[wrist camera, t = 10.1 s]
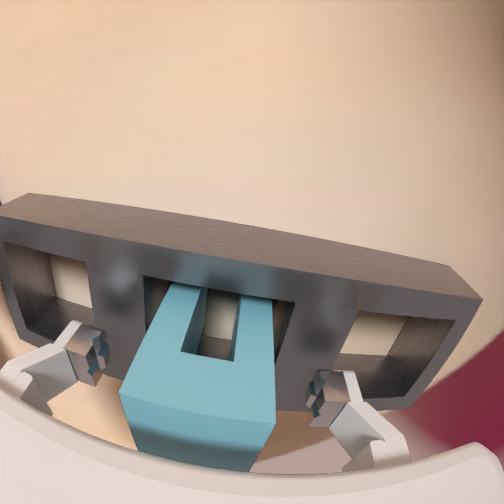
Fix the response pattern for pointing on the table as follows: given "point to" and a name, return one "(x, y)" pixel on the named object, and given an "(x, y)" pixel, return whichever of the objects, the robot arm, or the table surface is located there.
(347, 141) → the table surface
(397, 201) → the table surface
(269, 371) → the clip
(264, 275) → the grey rectangular piece
